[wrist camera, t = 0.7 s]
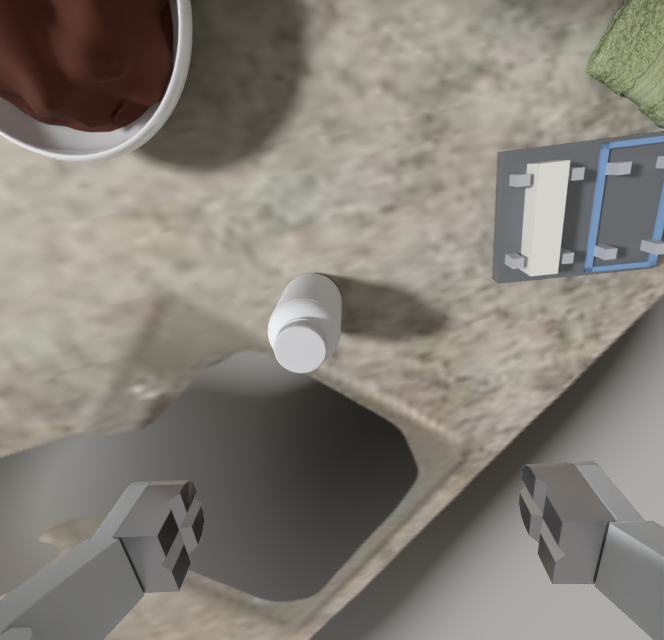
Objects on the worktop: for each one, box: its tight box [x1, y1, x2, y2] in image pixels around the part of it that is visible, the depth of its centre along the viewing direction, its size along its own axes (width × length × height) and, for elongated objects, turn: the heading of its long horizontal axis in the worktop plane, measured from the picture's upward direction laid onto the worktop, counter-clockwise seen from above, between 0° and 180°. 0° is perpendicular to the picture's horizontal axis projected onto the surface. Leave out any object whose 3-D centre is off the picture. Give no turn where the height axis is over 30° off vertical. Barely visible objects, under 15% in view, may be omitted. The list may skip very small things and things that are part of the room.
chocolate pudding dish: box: [0, 0, 193, 163], centre depth 34 cm, size 25×25×15 cm
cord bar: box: [520, 160, 570, 276], centre depth 42 cm, size 12×3×3 cm, turn 7°
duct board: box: [492, 131, 664, 283], centre depth 43 cm, size 15×18×4 cm
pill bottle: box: [268, 273, 342, 373], centre depth 44 cm, size 8×8×15 cm
